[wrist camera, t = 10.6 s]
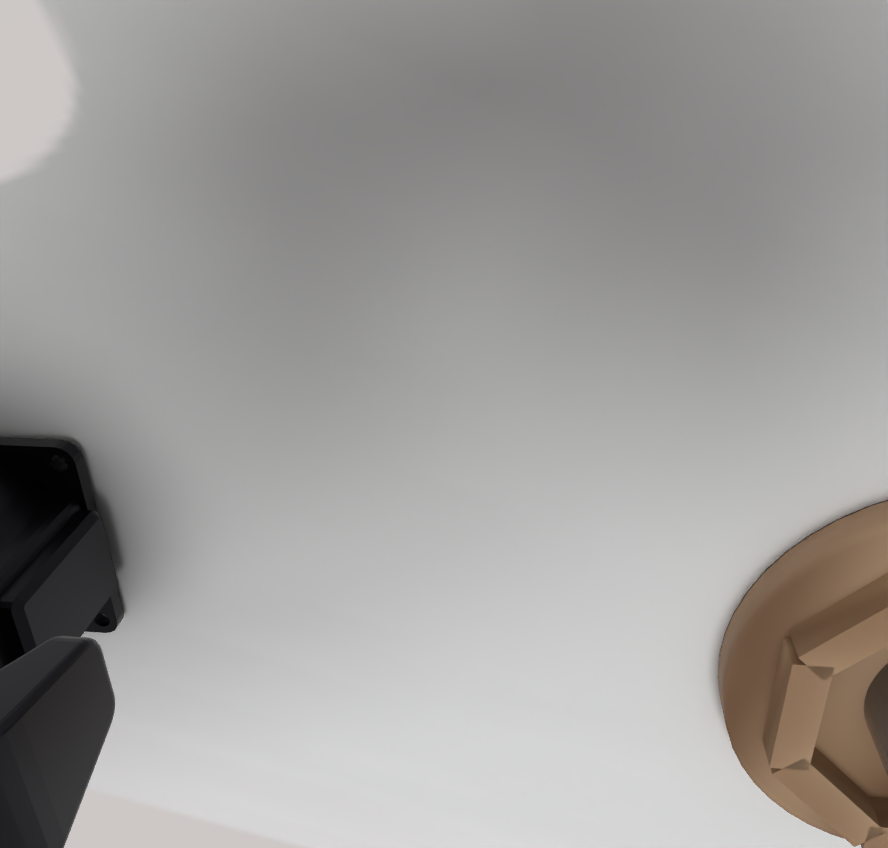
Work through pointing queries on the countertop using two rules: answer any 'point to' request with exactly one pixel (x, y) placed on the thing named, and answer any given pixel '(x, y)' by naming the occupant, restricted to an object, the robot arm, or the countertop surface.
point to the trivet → (814, 678)
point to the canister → (878, 714)
